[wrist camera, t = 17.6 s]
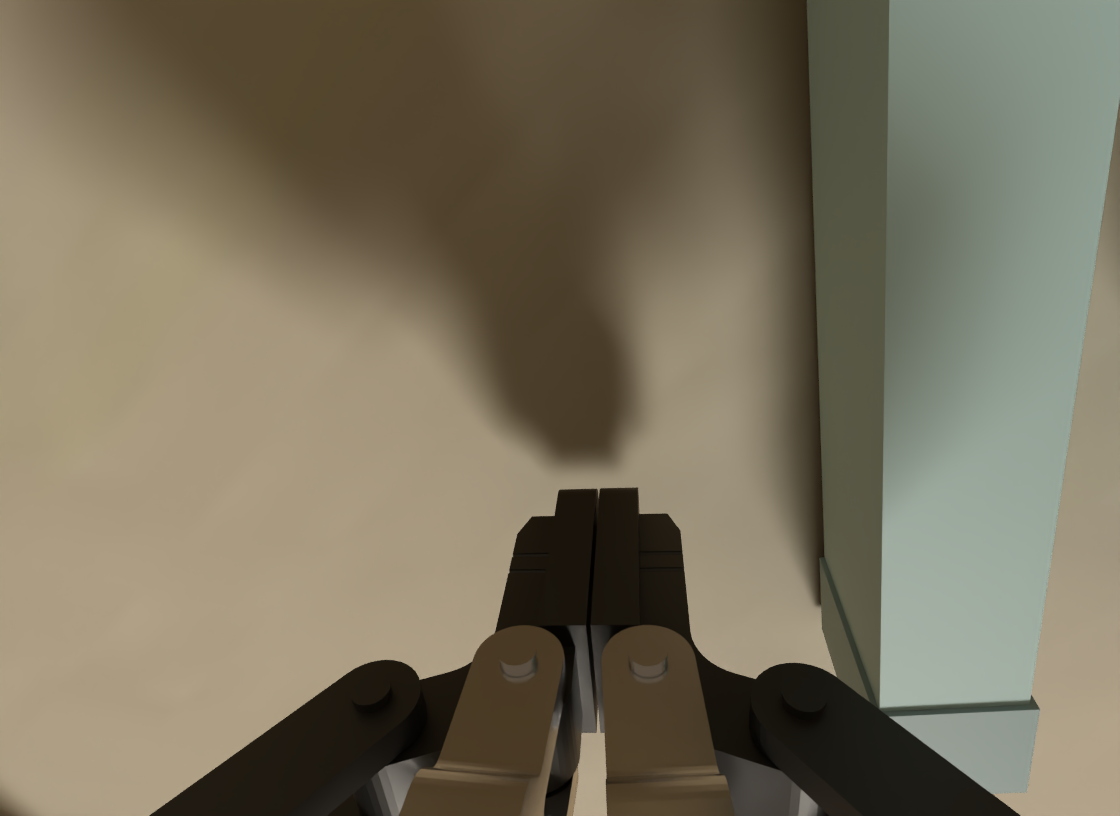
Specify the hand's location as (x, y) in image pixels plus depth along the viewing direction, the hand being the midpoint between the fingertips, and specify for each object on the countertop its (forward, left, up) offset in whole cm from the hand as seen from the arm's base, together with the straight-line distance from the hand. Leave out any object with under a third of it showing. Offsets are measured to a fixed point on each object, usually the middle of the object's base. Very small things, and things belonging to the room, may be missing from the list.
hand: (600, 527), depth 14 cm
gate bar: (+5, +3, -1) cm, 6 cm away
